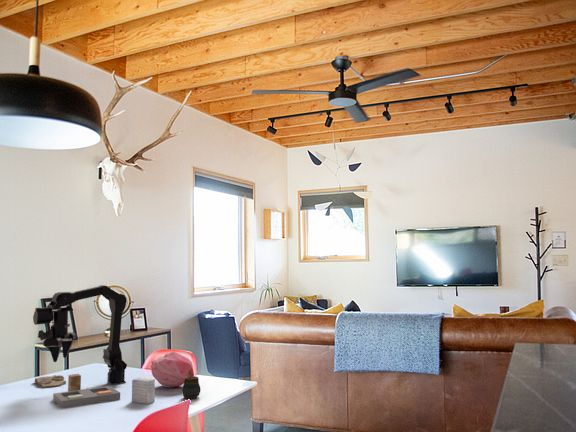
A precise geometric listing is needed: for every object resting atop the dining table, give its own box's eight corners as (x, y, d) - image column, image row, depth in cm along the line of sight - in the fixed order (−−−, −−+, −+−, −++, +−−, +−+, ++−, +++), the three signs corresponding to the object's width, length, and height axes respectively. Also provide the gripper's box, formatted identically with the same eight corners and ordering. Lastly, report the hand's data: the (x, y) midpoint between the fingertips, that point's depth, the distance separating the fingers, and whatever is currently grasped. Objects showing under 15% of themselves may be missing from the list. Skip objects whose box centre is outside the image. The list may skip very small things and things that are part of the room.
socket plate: (109, 391, 223) (109, 384, 223) (120, 399, 212) (120, 391, 212) (53, 399, 210) (53, 391, 210) (61, 408, 199) (61, 399, 199)
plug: (77, 390, 225) (78, 373, 226) (80, 392, 222) (81, 375, 223) (67, 391, 223) (68, 374, 223) (70, 393, 220) (71, 376, 220)
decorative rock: (194, 382, 241) (194, 348, 242) (193, 390, 227) (194, 354, 228) (151, 383, 237) (151, 349, 239) (148, 391, 223) (148, 355, 225)
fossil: (58, 379, 247) (58, 372, 247) (68, 386, 235) (68, 378, 235) (32, 382, 240) (33, 374, 240) (40, 389, 228) (41, 381, 228)
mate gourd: (184, 401, 209) (185, 375, 210) (179, 396, 216) (179, 371, 217) (202, 398, 213) (202, 373, 214) (196, 394, 219) (197, 369, 220)
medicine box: (154, 401, 208) (155, 379, 209) (147, 404, 204) (147, 381, 205) (138, 399, 212) (139, 377, 212) (131, 402, 208) (131, 379, 208)
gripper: (51, 319, 235) (51, 355, 234) (30, 325, 216) (30, 364, 215) (76, 319, 235) (76, 355, 234) (58, 325, 216) (57, 364, 215)
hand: (60, 359), depth 224 cm, fingers open, 9 cm apart
